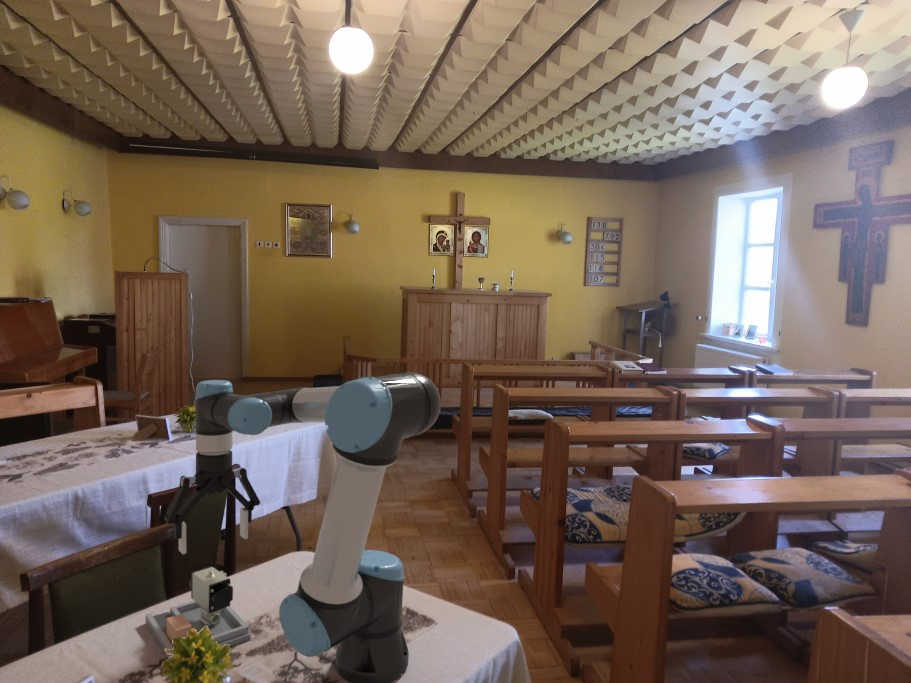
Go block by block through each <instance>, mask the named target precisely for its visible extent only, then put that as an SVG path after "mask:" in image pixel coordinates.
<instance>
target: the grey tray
mask: <svg viewBox="0 0 911 683" xmlns="http://www.w3.org/2000/svg"><path fill="white" fill-rule="evenodd" d="M200 607H202V606H200V605H199V604H198V603H197V602H195V601H194V600H192V601H188V602H184V603H181V604H178V605H174V606H171V607H170V608H169V611H165V612H162V613H160V614H159V613H158V614H155V615H153V614H152V613H151V612H148V613H146V614H145V625H146V626H148V627H147V628H148V629H149V631H150V633H151V634H152V635H153V637H154V639H155V640H156V642H157V644H158V645H159V647H160V648H161V650H162V651H163V649H165V648H167V649H172V648H173V646H172V644H171V643H170V641H169V640H168V638H167V618H169V617H172V616H176V615H179V614H183V615H184V616H185V618H186V619H187V620H188V622H189V623H190V624H191V626H192V628H195V629H196V630H197V632H199V631H200V630H201V629H202V628H203V627H204V626H205V625H204V624H203V623H202V622H201V621H200V618H201V615H200V614H201V613H200ZM220 616H221V622H219V623H217V624H212V625H210V626H209V627H208V628H209V630H210V632H211V633H212V634H213V637H214V639H215V640H216V641H217V643H218V644H219V645H224V644H230V645H231V647H233V646H237V645H239V644H242V643H245V642H248V641H251V633H249V632H250V631H249V630H250V629H249V628H250V627H249V625H248V624H247V623H246V622H245V621H244V620H243V618H241V616H240V615H239V614H238V613H237V612H236V611H235V610H234V609H233V608H232V607H231V605H230V606H228V607H226V608H223V609H221V611H220ZM169 656H172V655H166V654H165V657H166V658H168V657H169Z"/></svg>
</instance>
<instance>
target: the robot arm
mask: <svg viewBox="0 0 911 683" xmlns="http://www.w3.org/2000/svg"><path fill="white" fill-rule="evenodd" d="M196 384H197V385H196V387H195V398H194V402H195V403H194V404H195V450H196V453H195V474H194V476H185V475H181V477H179V485H178V489H177V490H176V493H175V495H174V496H173V499H172V501H171V503H170V505H169V508H168V509H167V511H166V513H165V515H164V517H163V520H165V521H166V523H167V524H169V525H171V524H173V536H174V538H175V539H176V540H178V551H179V553H181V554H182V555H185V554H187V524H186V522H185V520H186V519H187V517H188V516H189V515H190V514H191V512H192V511H193V509H194V508H195V507H196V505H197V504H198V503H199V501H200V500H201V499H202V498H204V497H205V495H206V494H207V495H213V494H215V493H223V492H224V491H225V490H226V491H228V493H230V494H231V495H232V496H233V497H234V498H235V499H236V500H237V501H238V502H239V503H240V504H241V505H242V507H240V508H239V537H241V538H243V539H244V540H248V539H249V524H250V523H252V521H253V519H252V518H253V513H252V512H253V510H255V506H259V505H260V504H261V501H260V498H259V497H258V495H257V493H256V491H255V490H254V487H253V486H252V483H251V482H250V480H249V478H248V475H247V474H248V473H247V469H246V468H244V467H243V466H240V465H239V466H238V467H237V468H234V469H233V451H232V449H233V432H235V433H238V434H241V435H249V436H257V435H261V434H262V433H263V432H265V431H266V430H267V429H268V428H272V427H276V426H281V425H286V424H293V423H294V424H298V423H299V424H301V423H303V424H305V423H324V425H325V426H327V429H326V434H327V437H328V439H329V440H330V442H331V443H332V444H331V446H332V450H333V451H334V453H335V454H336V455H337V461H336V464H335V468H334V469H335V470H334V473H333V478H332V481H331V485H330V488H329V489H330V490H329V493H328V498H327V501H326V506H325V509H324V515H323V518H322V522H321V526H320V530H319V534H318V540H317V542H316V547H315V551H314V552H315V553H314V555H313V560H312V563H311V564H308V565H307V566H306V567H304V569H303V571H302V572H301V573H300V578H299V582H298V586H297V590H296V591H295V592H294V593H290V594H288V595H287V596H286V597H285V598H283V600H281V602H280V605H279V612H278V613H279V623H280V626H281V629H282V631H283V634H284V636H285V638H286V640H287V641H288V643H289V644H290V646H291V647H292V648H293V649H294V650H295V651H296V652H298V653H299V654H300V655H302V656H304V657H308V658H311V657H316V656H318V655H320V654H323V653H327V652H328V651H330V649H332V648H333V647H335V646H337V645H338V646H337V649H336V652H335V660H334V661H335V664H334V667H335V670H336V673H337V674H338V676H340V677H341V678H342V679H343V680H345V681H347V682H349V683H391V682H393V681H395V680H397V679H399V678H400V677H401V676H402V675H404V673H405V672H406V671H407V669H408V667H409V661H410V660H409V658H410V657H409V655H410V654H409V647H408V645H407V642H406V638H405V634H404V631H403V628H402V620H403V619H402V617H403V596H404V581H405V577H404V564H403V562H402V560H401V559H400V558H399V557H398V556H396V555H394V554H392V553H391V552H390V553H389V552H387V551H382V550H375V549H367V550H366V545H367V540H368V538H369V533H370V529H371V526H372V523H373V522H372V521H373V518H374V515H375V510H376V507H377V503H378V499H379V496H380V492H381V488H382V486H383V485H382V484H383V480H384V476H385V474H386V473H385V472H386V470H387V468H388V467H390V466H393V465H394V464H395V463H396V462H397V460H398V458H399V454H400V450H401V447H402V443H403V441H404V439H407V438H412V437H416V436H418V435H421V434H423V433H425V432H426V431H428V430H429V429H430V428H431V427H432V426H433V425H434V424H435V423H436V422H437V420H438V418H439V415H440V414H441V406H442V403H441V402H442V401H441V395H440V391H439V390H438V388H437V386H436V385H435V383H434V382H433V381H432V380H431V379H430V378H429V377H427V376H425V375H423V374H420V373H417V372H411V371H408V372H400V373H393V374H387V375H379V376H365V377H364V376H362V377H359V378H357V379H353V380H349V381H347V382H344V383H343V384H341V385H339V386H338V385H337V386H324V387H323V386H321V387H320V386H319V387H295V388H291V389H284V390H277V391H270V392H261V393H253V394H247V395H246V394H245V395H243V394H235V393H234V390H233V384H232V382H230V381H229V380H225V379H212V380H211V379H208V380H202V381H199V382H198V383H196ZM234 476H235V477H236V478H237V479H238V481H239V482H240V484H241V486H242V487H243V490H244V492H245V493H246V494H247V496H248V499H249V500H247V498H245V497H244V495H242V494H241V492H239V491H238V490H237V488H235V486H233V485H232V484H231V481H232V479H234ZM194 483H195V485H196V486H195V487H194V489H193V490H192V493H191V494H190V496H188V498H187V499H186V496H187V495H188V492H189V489H190V487H192V486H193V484H194ZM185 499H186V501H185ZM184 501H185V502H184ZM183 503H184V504H183ZM407 666H408V667H407ZM406 668H407V669H406ZM405 670H406V671H405ZM404 671H405V672H404ZM403 672H404V673H403ZM401 674H402V675H401ZM398 677H399V678H398Z"/></svg>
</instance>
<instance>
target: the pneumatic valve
mask: <svg viewBox="0 0 911 683" xmlns="http://www.w3.org/2000/svg"><path fill="white" fill-rule="evenodd" d="M190 574H191V575H190V576H191V577H190V579H189V584H188V585H189V587H190V589H191V590H190V596H191V599H192V601H195V602H197V603H198V604H199V605H200V606H202V607H200V613H201V614H200V615H201V618H200V621H201V622H202V623H203V624H204V625H207V626H208V627H209V626H210V625H212V624H217V623H219V622H221V616H220V611H221V609H223V608H226V607H228V606H230V607H231V602H232V601H233V600H234V598H233V597H234V587H233V585H231V579H230V578H229V577H228V576H227V573H226V572H224V571H223V570H218V569H216V568H215V567H213V566H212V565H210V566H207V567H204V568H201V569H198V570H194V571H192V572H191V573H190Z"/></svg>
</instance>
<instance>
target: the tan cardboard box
mask: <svg viewBox="0 0 911 683" xmlns="http://www.w3.org/2000/svg"><path fill="white" fill-rule="evenodd" d="M190 628H192V626H191V624H190V623H189V622H188V620H187V619H186V618H185V616H184V615H183V614H179V615H176V616H172V617H169V618H167V638H168V640H169V641H170V643H171V644H172V639H173V638H175V637H186V636H187V631H188V629H190ZM172 646H173V644H172Z"/></svg>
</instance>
